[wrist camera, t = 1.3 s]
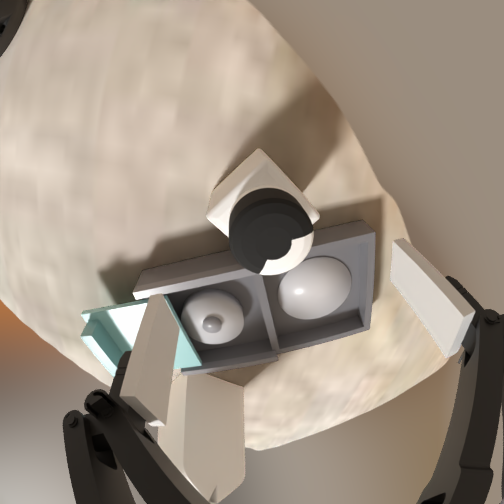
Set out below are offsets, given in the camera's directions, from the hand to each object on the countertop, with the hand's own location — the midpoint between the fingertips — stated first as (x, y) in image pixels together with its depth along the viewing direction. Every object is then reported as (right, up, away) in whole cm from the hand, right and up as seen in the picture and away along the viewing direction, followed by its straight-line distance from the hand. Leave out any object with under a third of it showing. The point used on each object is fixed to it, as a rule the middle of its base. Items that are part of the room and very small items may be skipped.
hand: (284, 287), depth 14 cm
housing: (0, -4, +21) cm, 22 cm away
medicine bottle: (-1, +8, +15) cm, 17 cm away
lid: (-16, -10, +19) cm, 27 cm away
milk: (-12, -24, +32) cm, 42 cm away
